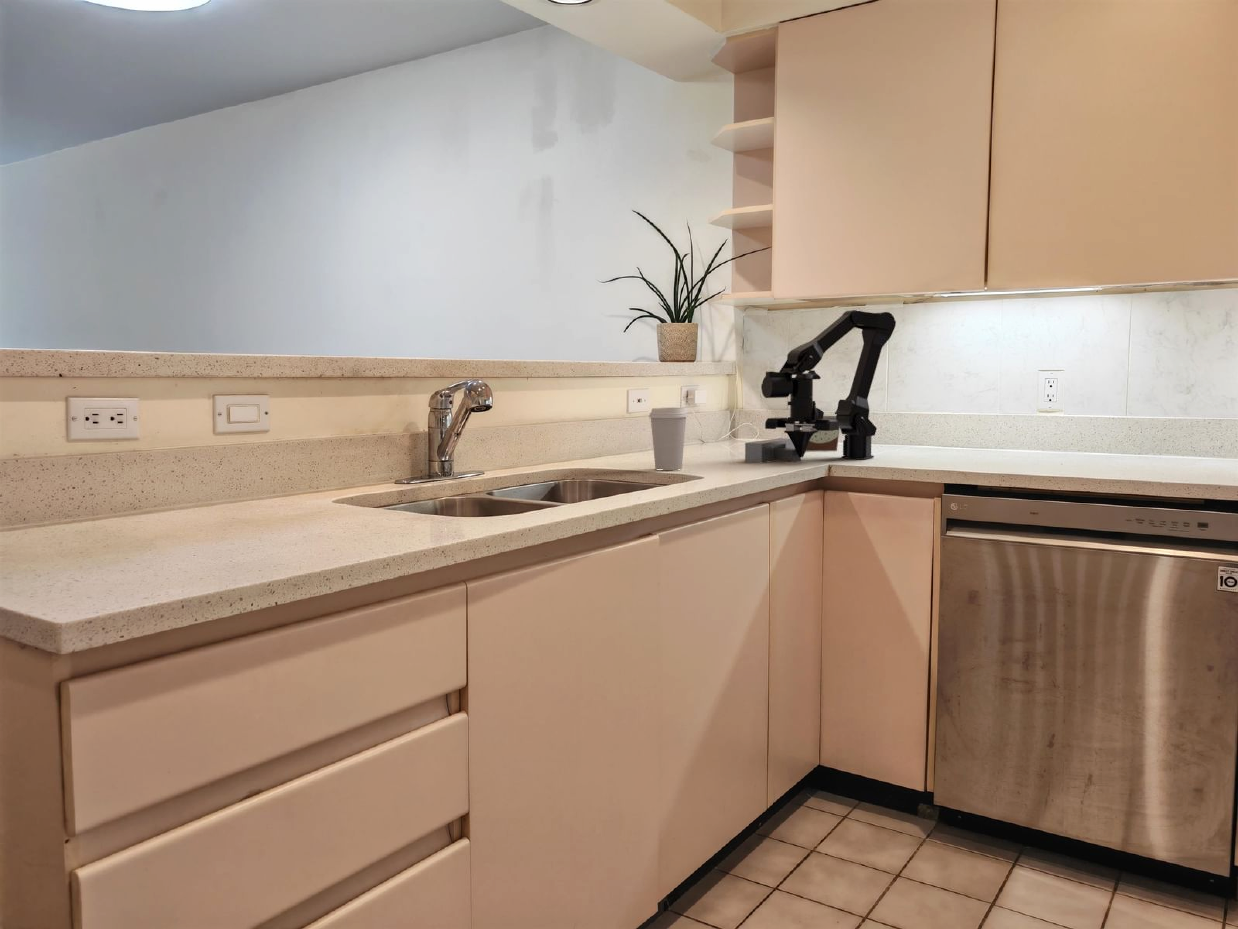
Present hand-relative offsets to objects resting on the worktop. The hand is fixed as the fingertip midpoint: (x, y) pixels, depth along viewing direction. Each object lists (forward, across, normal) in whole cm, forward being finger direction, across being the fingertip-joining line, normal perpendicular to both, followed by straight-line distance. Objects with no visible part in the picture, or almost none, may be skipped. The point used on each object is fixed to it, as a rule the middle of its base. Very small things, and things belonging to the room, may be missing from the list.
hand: (801, 457), depth 236 cm
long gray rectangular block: (+1, +9, 0) cm, 9 cm away
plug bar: (+1, +8, -1) cm, 8 cm away
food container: (+1, +11, -31) cm, 33 cm away
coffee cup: (+1, +18, +34) cm, 38 cm away
